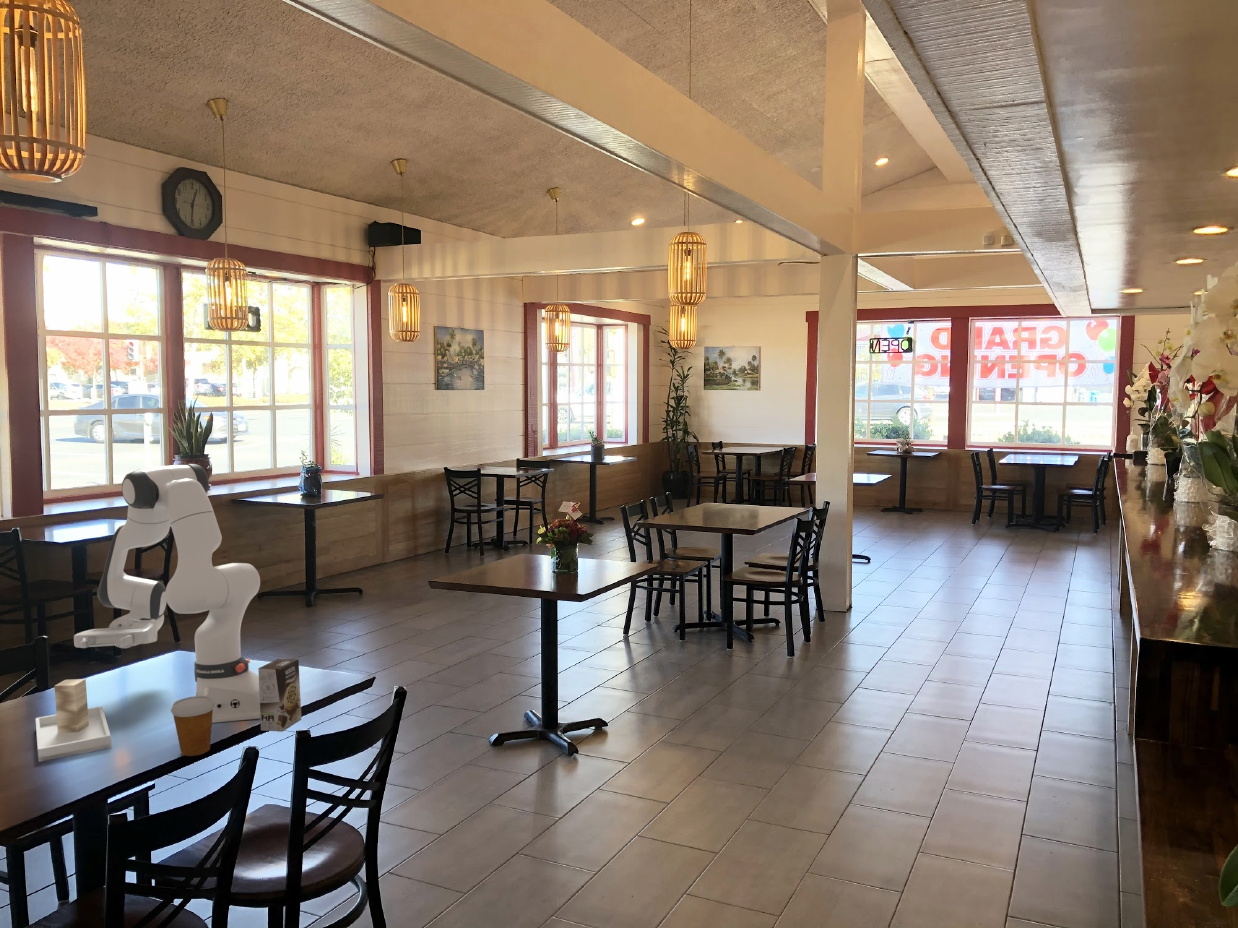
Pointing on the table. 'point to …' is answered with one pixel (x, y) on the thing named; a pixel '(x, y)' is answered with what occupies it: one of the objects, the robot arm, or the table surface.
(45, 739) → the tray
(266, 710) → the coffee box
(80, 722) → the ash block
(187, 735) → the disposable coffee cup
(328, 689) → the table surface
